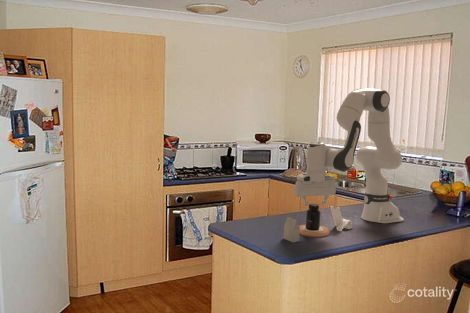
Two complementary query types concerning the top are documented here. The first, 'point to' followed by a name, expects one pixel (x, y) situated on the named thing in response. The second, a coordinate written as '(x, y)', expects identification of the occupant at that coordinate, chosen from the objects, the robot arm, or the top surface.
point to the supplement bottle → (313, 217)
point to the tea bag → (291, 230)
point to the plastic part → (340, 220)
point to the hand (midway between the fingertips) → (314, 204)
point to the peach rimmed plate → (318, 233)
